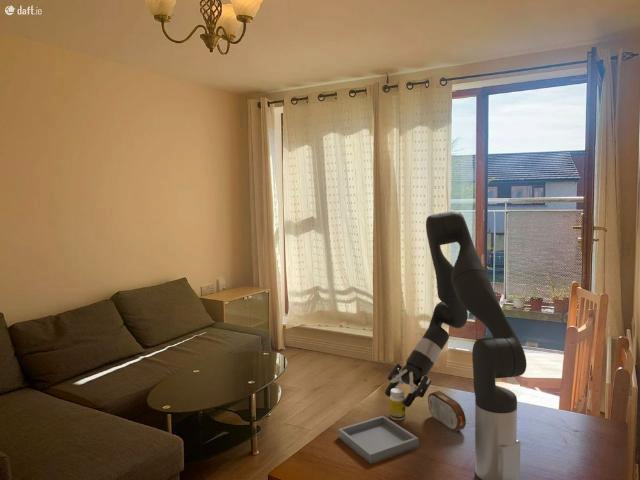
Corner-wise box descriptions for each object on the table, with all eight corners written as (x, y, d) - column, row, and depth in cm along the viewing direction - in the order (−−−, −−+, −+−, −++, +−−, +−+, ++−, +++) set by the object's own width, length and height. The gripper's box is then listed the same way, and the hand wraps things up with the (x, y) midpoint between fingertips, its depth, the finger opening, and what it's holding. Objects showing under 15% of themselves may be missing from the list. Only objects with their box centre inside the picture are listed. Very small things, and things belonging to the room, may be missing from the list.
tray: (418, 447, 126) (418, 438, 126) (370, 464, 119) (370, 454, 119) (383, 423, 140) (383, 415, 140) (338, 437, 133) (338, 429, 132)
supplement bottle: (405, 421, 141) (405, 393, 140) (389, 420, 142) (388, 393, 141) (405, 413, 146) (405, 387, 145) (390, 413, 147) (389, 386, 146)
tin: (466, 434, 132) (466, 405, 132) (457, 437, 131) (457, 407, 130) (434, 412, 146) (434, 386, 146) (426, 414, 145) (426, 388, 144)
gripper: (402, 343, 153) (374, 386, 148) (434, 355, 140) (404, 402, 136) (414, 356, 156) (388, 398, 151) (447, 369, 144) (418, 415, 139)
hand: (396, 400), depth 143 cm, fingers open, 8 cm apart
